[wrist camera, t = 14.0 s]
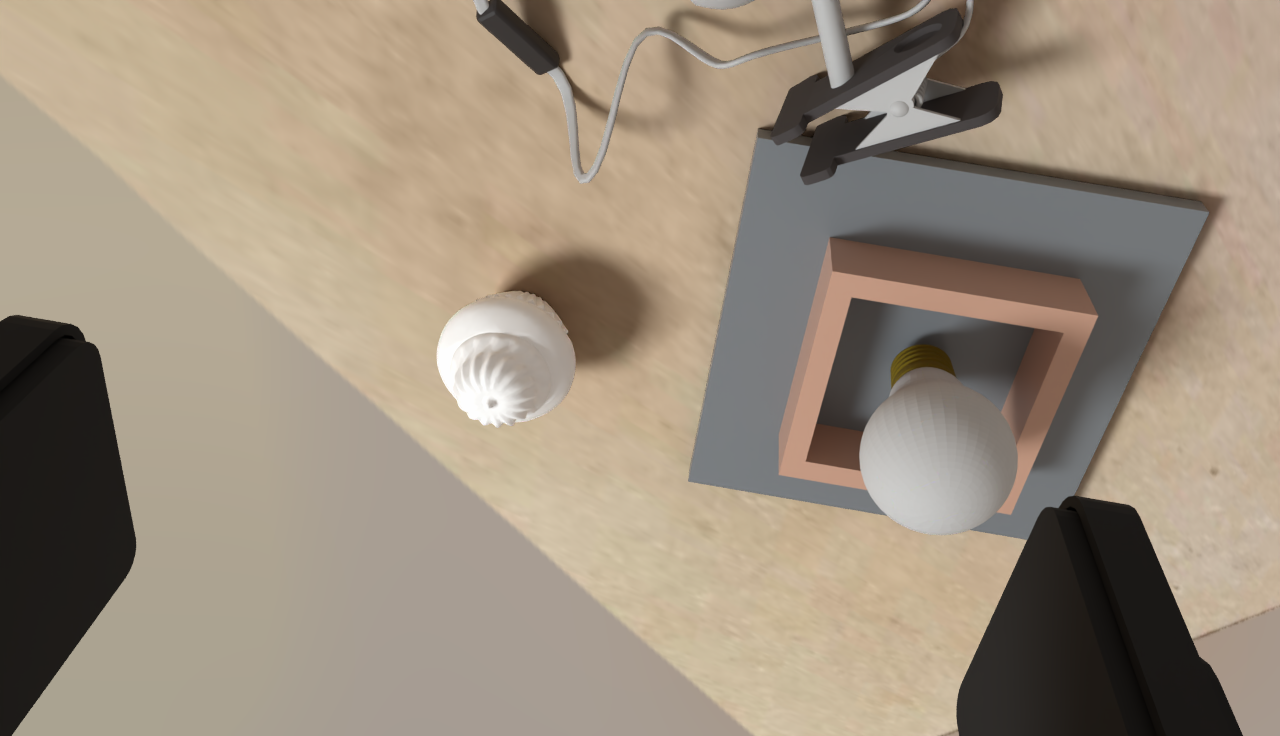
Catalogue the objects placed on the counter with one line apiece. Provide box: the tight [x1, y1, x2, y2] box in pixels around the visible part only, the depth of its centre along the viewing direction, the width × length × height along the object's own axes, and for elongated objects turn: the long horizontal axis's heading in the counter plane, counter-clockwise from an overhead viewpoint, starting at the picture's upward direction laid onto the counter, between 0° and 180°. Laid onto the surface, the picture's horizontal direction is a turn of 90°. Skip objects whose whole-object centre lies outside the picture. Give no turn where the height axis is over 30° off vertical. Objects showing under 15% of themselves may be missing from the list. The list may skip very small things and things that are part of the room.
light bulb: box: [859, 344, 1018, 535], centre depth 42 cm, size 6×6×10 cm
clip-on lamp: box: [473, 0, 1003, 185], centre depth 38 cm, size 12×6×18 cm
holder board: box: [688, 129, 1209, 540], centre depth 46 cm, size 18×18×4 cm
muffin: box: [437, 291, 576, 428], centre depth 46 cm, size 6×6×7 cm
